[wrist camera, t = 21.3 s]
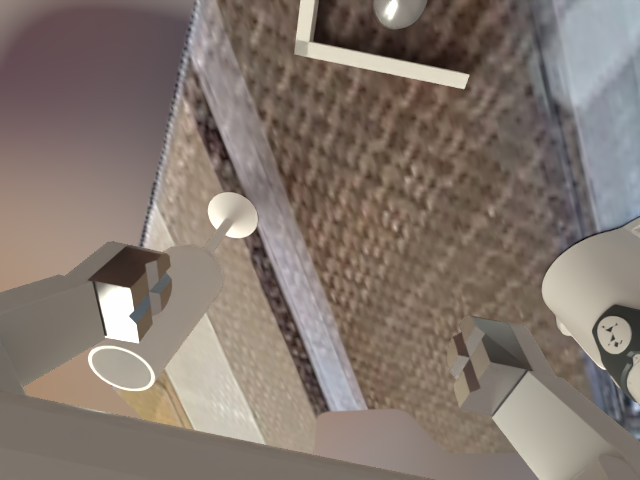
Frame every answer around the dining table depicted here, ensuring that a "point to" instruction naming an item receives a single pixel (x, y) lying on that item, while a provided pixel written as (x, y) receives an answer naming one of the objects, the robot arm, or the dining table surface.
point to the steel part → (397, 12)
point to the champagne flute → (176, 301)
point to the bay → (366, 54)
